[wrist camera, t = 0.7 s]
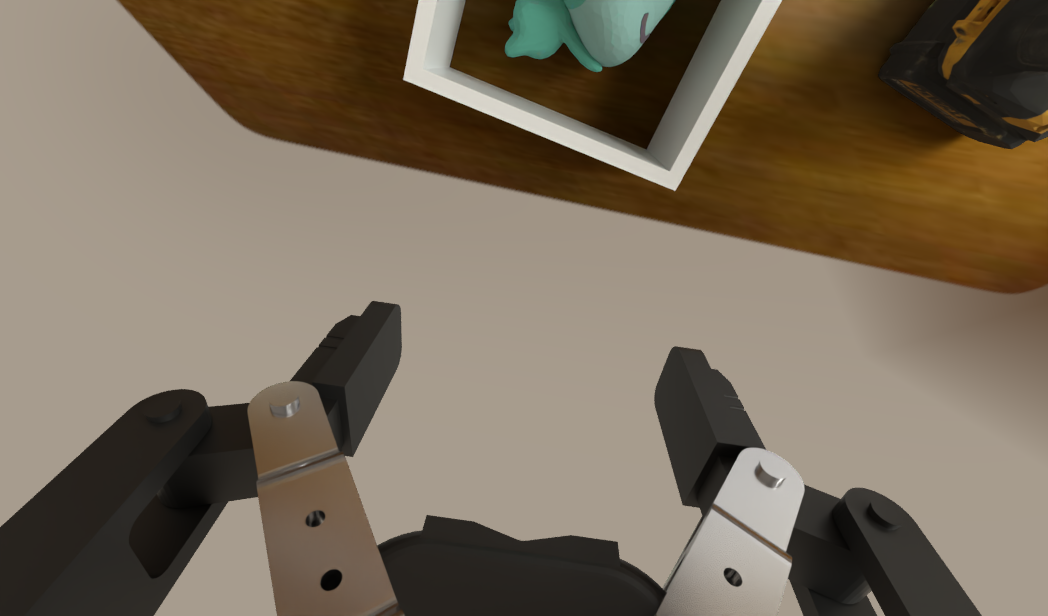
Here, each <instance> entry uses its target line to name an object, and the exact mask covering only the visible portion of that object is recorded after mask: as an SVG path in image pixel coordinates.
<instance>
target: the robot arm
mask: <svg viewBox="0 0 1048 616" xmlns="http://www.w3.org/2000/svg"><path fill="white" fill-rule="evenodd" d="M401 348H402V342H401V309H400V306H399V305H397V304H390V303H384V302H377V301H372V302H371V303H370V304H369V306H368V307H367V308H366V309H365V311H364V312H363V314H362V315H361V316H354V315H350V316H349V317H347V318H345V319H344V320H342V321H340V322H338V323H337V324H335V326H334V327H333V328H332V329H331V331H330V332H329V333H328V334H327V337H326V338H324V339H323V341H322V342H321V343H320V344H319V347H318V348H316V349H315V350H314V352H313V353H312V354H311V356H310V357H309V358H308V359H307V360H306V362H305V363H304V364H303V365H302V367H301V368H300V369H299V370H298V371H297V373H296V374H295V375H294V377H293V378H292V379H291V380H290V381H289V382H283V383H278V384H275V385H272V386H270V387H268V388H266V389H264V390H262V391H261V392H259V393H258V394H257V395H256V396H255V397H254V398H253V399H252V400H251V402H250V403H245V404H234V405H224V406H214V407H208V405H207V402H206V400H205V398H204V396H203V395H202V394H200V393H199V392H196V391H193V390H186V389H179V390H171V391H166V392H162V393H159V394H156V395H153V396H150V397H149V398H146V399H144V400H142V401H140V402H139V403H137V404H136V405H134V406H133V407H132V408H130V409H129V410H128V411H127V412H126V413H125V414H124V415H123V416H122V417H120V418H119V419H118V420H117V421H116V422H115V423H114V424H113V425H112V426H111V427H109V428H108V429H107V430H106V431H105V432H104V433H103V434H102V435H101V436H100V437H99V438H97V439H96V440H95V441H94V442H93V443H92V444H91V445H90V446H89V447H88V448H86V449H85V450H84V451H83V452H82V453H81V454H80V455H79V456H78V457H77V458H76V459H74V460H73V461H72V462H71V463H70V464H69V465H68V466H67V467H66V468H65V469H63V471H61V472H60V473H59V474H58V475H57V476H56V477H55V478H54V479H53V480H51V482H49V483H48V484H47V485H46V486H45V487H44V488H43V489H42V490H41V491H40V492H38V493H37V494H36V495H35V496H34V497H33V498H32V499H31V500H30V501H28V502H27V503H26V504H25V505H24V506H23V507H22V508H21V509H20V510H19V511H18V512H16V513H15V514H14V515H13V516H12V517H11V518H10V519H9V520H8V521H7V522H6V523H4V524H3V525H2V526H1V527H0V616H154V614H155V613H156V611H157V610H158V608H159V607H160V605H161V604H162V602H163V600H164V599H165V598H166V596H167V594H168V593H169V591H170V590H171V588H172V587H173V585H174V584H175V582H176V581H177V579H178V578H179V576H180V575H181V573H182V572H183V570H184V568H185V567H186V565H187V564H188V562H189V561H190V559H191V558H192V556H193V555H194V553H195V552H196V550H197V549H198V547H199V546H200V544H201V543H202V541H203V540H204V538H205V536H206V535H207V533H208V532H209V530H210V529H211V527H212V526H213V524H214V523H215V521H216V520H217V518H218V517H219V515H220V513H221V512H222V510H223V509H224V507H225V506H226V504H227V503H228V501H234V500H240V499H247V498H253V497H258V498H259V504H260V511H261V516H262V523H263V530H264V536H265V543H266V548H267V555H268V561H269V568H270V574H271V580H272V587H273V593H274V599H275V605H276V612H277V616H777V614H778V610H779V607H780V603H781V600H782V597H783V593H784V590H785V586H786V583H787V579H789V580H790V582H791V585H792V587H793V590H794V592H795V595H796V598H797V600H798V603H799V605H800V608H801V610H802V613H803V616H877V614H876V613H875V611H874V609H873V607H872V605H871V603H870V601H869V599H868V597H867V594H868V593H870V592H871V591H872V592H873V594H874V596H875V597H876V599H877V601H878V603H879V605H880V607H881V609H882V610H883V612H884V614H885V616H981V614H980V613H979V611H978V610H977V608H976V607H975V606H974V604H973V603H972V601H971V600H970V599H969V597H968V596H967V594H966V593H965V591H964V590H963V589H962V587H961V586H960V584H959V583H958V582H957V580H956V579H955V577H954V576H953V575H952V573H951V572H950V570H949V569H948V568H947V566H946V565H945V563H944V562H943V561H942V559H941V558H940V556H939V555H938V554H937V552H936V551H935V549H934V548H933V547H932V545H931V543H930V542H929V541H928V539H927V538H926V536H925V535H924V534H923V533H922V531H921V530H920V528H919V527H918V525H917V524H916V522H915V521H914V520H913V519H912V518H911V517H910V516H909V514H908V513H907V512H906V511H904V510H903V509H902V508H901V507H900V506H899V505H897V504H896V503H895V502H893V501H892V500H890V499H888V498H887V497H885V496H883V495H881V494H879V493H877V492H875V491H872V490H868V489H865V488H852V489H850V490H848V491H847V492H846V494H845V495H844V496H843V497H842V498H841V499H839V498H836V497H834V496H831V495H829V494H826V493H824V492H821V491H819V490H816V489H814V488H811V487H809V486H806V485H804V483H803V480H802V479H801V477H800V475H799V474H798V472H797V471H796V470H795V469H794V468H793V466H791V465H790V464H789V463H788V462H787V461H785V460H784V459H783V458H781V457H780V456H778V455H776V454H774V453H772V452H770V451H768V450H766V449H765V447H764V445H763V443H762V441H761V439H760V437H759V435H758V433H757V431H756V430H755V428H754V426H753V424H752V422H751V420H750V418H749V416H748V415H747V413H746V411H744V407H743V405H742V403H741V401H740V400H739V399H738V396H737V394H736V392H735V390H734V388H733V386H732V384H731V383H730V382H729V381H728V380H727V379H726V378H725V377H724V376H723V375H722V374H721V373H720V372H719V371H718V370H715V369H711V368H710V366H709V364H708V362H707V360H706V357H705V355H704V353H703V352H702V351H701V350H696V349H689V348H683V347H673V348H672V349H671V351H670V353H669V356H668V358H667V360H666V363H665V365H664V368H663V371H662V373H661V376H660V378H659V381H658V383H657V386H656V390H655V400H654V401H655V408H656V411H657V415H658V419H659V422H660V426H661V429H662V433H663V436H664V440H665V443H666V447H667V450H668V454H669V458H670V461H671V465H672V468H673V472H674V476H675V479H676V483H677V486H678V489H679V493H680V497H681V501H682V504H683V505H685V506H692V507H699V508H700V510H701V513H702V517H701V519H700V521H699V522H698V524H697V526H696V528H695V530H694V531H693V533H692V535H691V537H690V539H689V541H688V542H687V544H686V546H685V548H684V550H683V552H682V554H681V555H680V557H679V559H678V561H677V563H676V565H675V566H674V568H673V570H672V572H671V574H670V576H669V577H668V579H667V581H666V583H665V584H664V586H663V588H661V587H660V586H659V585H658V584H657V583H656V582H655V581H654V580H653V579H652V578H650V577H649V576H648V575H647V574H645V573H644V572H642V571H641V570H639V569H638V568H637V567H635V566H633V565H631V564H629V563H628V562H626V561H624V560H622V559H620V558H619V550H618V542H613V541H607V540H600V539H593V538H586V537H579V536H572V535H570V536H562V537H554V538H546V539H538V540H530V541H520V540H517V539H514V538H512V537H509V536H507V535H505V534H502V533H500V532H497V531H495V530H493V529H490V528H488V527H485V526H483V525H481V524H478V523H475V522H472V521H465V520H458V519H451V518H444V517H437V516H430V515H427V516H426V520H425V523H424V527H423V530H422V531H415V532H411V533H407V534H403V535H400V536H397V537H394V538H392V539H389V540H387V541H385V542H383V543H381V544H379V545H377V544H376V541H375V538H374V536H373V533H372V530H371V528H370V524H369V522H368V519H367V517H366V514H365V511H364V508H363V505H362V502H361V499H360V497H359V494H358V491H357V488H356V486H355V483H354V480H353V477H352V475H351V472H350V469H349V466H348V463H347V461H346V458H345V456H350V457H353V455H354V454H355V452H356V450H357V448H358V445H359V443H360V442H361V440H362V438H363V436H364V433H365V431H366V430H367V427H368V426H369V424H370V422H371V419H372V418H373V416H374V414H375V411H376V410H377V408H378V405H379V403H380V402H381V400H382V398H383V396H384V394H385V392H386V390H387V388H388V386H389V384H390V382H391V380H392V378H393V376H394V374H395V372H396V370H397V367H398V365H399V361H400V357H401Z"/></svg>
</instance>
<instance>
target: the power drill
mask: <svg viewBox="0 0 1048 616" xmlns="http://www.w3.org/2000/svg"><path fill="white" fill-rule="evenodd" d="M890 53H891V55H890V57H889V59H888V60H887V62H886V63H885V64H884V65H883V66H882V67H881V68H880V71H879V74H878V76H879V78H880V79H881V80H882V81H884V82H885V83H887V84H888V85H889V86H891V87H892V88H894V89H895V90H897V91H898V92H900V93H901V94H903V95H904V96H905V97H907V98H908V99H910V100H911V101H913V102H915V103H916V104H918V105H919V106H921V107H922V108H924V109H925V110H927V111H928V112H930V113H931V114H933V115H934V116H935V117H937V118H938V119H940V120H941V121H943V122H944V123H946V124H947V125H949V126H950V127H952V128H953V129H955V130H956V131H958V132H960V133H962V134H963V135H965V136H967V137H969V138H972V139H974V140H977V141H979V142H983V143H987V144H990V145H994V146H998V147H1002V148H1007V149H1013V148H1015V147H1017V146H1019V145H1021V144H1022V143H1024V142H1025V141H1027V140H1030V141H1033V142H1036V141H1038V140H1041V139H1044V138H1046V137H1048V0H935V1H934V2H933V3H932V4H931V5H930V7H929V8H928V9H927V10H926V11H925V12H924V14H923V15H922V17H921V18H920V19H919V21H918V22H917V24H916V25H915V26H914V27H913V28H912V30H911V31H910V33H909V34H908V35H907V36H906V38H905V39H904V40H903V41H902V42H900V43H895V44H894V45H893V46H892V47H891V48H890Z"/></svg>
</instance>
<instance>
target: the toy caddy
mask: <svg viewBox="0 0 1048 616" xmlns="http://www.w3.org/2000/svg"><path fill="white" fill-rule="evenodd" d="M465 1H466V0H419V1H418V6H417V11H416V17H415V22H414V27H413V32H412V37H411V42H410V47H409V52H408V57H407V63H406V68H405V73H404V78H403V80H405V81H408V82H410V83H413V84H415V85H417V86H420V87H422V88H425V89H427V90H430V91H432V92H435V93H437V94H439V95H442V96H444V97H447V98H449V99H452V100H454V101H457V102H459V103H461V104H464V105H466V106H469V107H471V108H474V109H476V110H479V111H481V112H483V113H486V114H488V115H491V116H493V117H496V118H498V119H501V120H503V121H505V122H508V123H510V124H513V125H515V126H518V127H520V128H523V129H525V130H527V131H530V132H532V133H535V134H537V135H540V136H542V137H545V138H547V139H549V140H552V141H554V142H557V143H559V144H562V145H564V146H567V147H569V148H571V149H574V150H576V151H579V152H581V153H584V154H586V155H589V156H591V157H593V158H596V159H598V160H601V161H603V162H606V163H608V164H611V165H613V166H615V167H618V168H620V169H623V170H625V171H628V172H630V173H633V174H635V175H637V176H640V177H642V178H645V179H647V180H650V181H652V182H655V183H657V184H659V185H662V186H664V187H667V188H669V189H672V190H674V191H676V189H677V187H678V185H679V183H680V182H681V180H682V178H683V176H684V174H685V173H686V171H687V169H688V167H689V166H690V164H691V162H692V160H693V158H694V157H695V155H696V153H697V151H698V149H699V148H700V146H701V144H702V142H703V141H704V139H705V137H706V135H707V133H708V132H709V130H710V128H711V126H712V125H713V123H714V121H715V119H716V117H717V116H718V114H719V112H720V110H721V108H722V107H723V105H724V103H725V101H726V100H727V98H728V96H729V94H730V92H731V91H732V89H733V87H734V85H735V83H736V82H737V80H738V78H739V76H740V75H741V73H742V71H743V69H744V67H745V66H746V64H747V62H748V60H749V58H750V57H751V55H752V53H753V51H754V50H755V48H756V46H757V44H758V42H759V41H760V39H761V37H762V35H763V33H764V32H765V30H766V28H767V26H768V25H769V23H770V21H771V19H772V17H773V16H774V14H775V12H776V10H777V8H778V7H779V5H780V3H781V1H782V0H721V1H720V3H719V5H718V7H717V9H716V11H715V13H714V15H713V17H712V19H711V21H710V23H709V25H708V27H707V29H706V31H705V33H704V35H703V37H702V39H701V41H700V43H699V45H698V47H697V49H696V51H695V53H694V55H693V57H692V59H691V61H690V63H689V65H688V67H687V69H686V71H685V73H684V75H683V77H682V79H681V81H680V83H679V85H678V87H677V89H676V91H675V93H674V95H673V97H672V99H671V101H670V103H669V105H668V107H667V109H666V111H665V113H664V115H663V117H662V119H661V121H660V123H659V125H658V127H657V129H656V131H655V133H654V135H653V137H652V139H651V141H650V144H649V146H648V148H647V150H646V149H644V148H641V147H639V146H637V145H634V144H632V143H630V142H627V141H625V140H622V139H620V138H618V137H615V136H613V135H610V134H608V133H606V132H603V131H601V130H599V129H596V128H594V127H591V126H589V125H587V124H584V123H582V122H579V121H577V120H575V119H572V118H570V117H568V116H565V115H563V114H560V113H558V112H556V111H553V110H551V109H548V108H546V107H544V106H541V105H539V104H537V103H534V102H532V101H529V100H527V99H525V98H522V97H520V96H517V95H515V94H513V93H510V92H508V91H506V90H503V89H501V88H498V87H496V86H494V85H491V84H489V83H486V82H484V81H482V80H479V79H477V78H475V77H472V76H470V75H467V74H465V73H463V72H460V71H458V70H455V69H453V68H451V67H450V63H451V59H452V55H453V51H454V47H455V43H456V38H457V34H458V30H459V26H460V22H461V18H462V14H463V10H464V6H465Z"/></svg>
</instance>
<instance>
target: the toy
mask: <svg viewBox="0 0 1048 616" xmlns="http://www.w3.org/2000/svg"><path fill="white" fill-rule="evenodd" d="M674 2H675V0H517V1H516V3H515V8H514V10H513V18H512V19H510V21H509V26H510V29H511V30H512V31H513V35H512V36H511V37H510V38H509V40H508V41H507V42H506V45H505V53H506V54H507V56H509V57H512V58H513V57H518V56H523V55H527V56H530V57H532V58H535V59H544V58H547V57H549V56H551V55H552V54H554V53H555V52H556V51H557V50H558V49H559V48H560V46H561V45H562V44H563V42H564V43H565V44H566V45H567V46H568V48H569V49H570V51H571V52H572V53H573V55H574V56H575V57H576V58H577V59H578V60H579V62H580V63H581V64H582V65H584V66H585V67H586V68H587V69H589V70H591V71H594V72H599V71H602V66H605V67H613V66H617V65H619V64H622V63H624V62H625V61H626V60H628V59H630V58H631V57H632V56H633V55H634V54H635V53H636V52H637V51H638V50H639V48H640V47H641V46H642V44H643V43H644V42H645V41H646V40H647V38H648V37H649V35H650V33H651V32H652V30H653V29H654V28H655V26H656V25H657V24H658V22H659V21H660V20H661V19H662V18H663V17H664V15H665V14H666V13H667V12H668V10H669V9H670V8H671V6H672V5H673V3H674Z"/></svg>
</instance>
